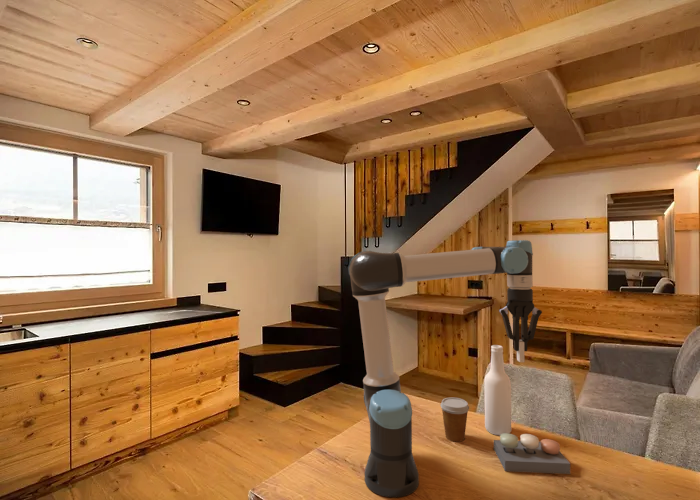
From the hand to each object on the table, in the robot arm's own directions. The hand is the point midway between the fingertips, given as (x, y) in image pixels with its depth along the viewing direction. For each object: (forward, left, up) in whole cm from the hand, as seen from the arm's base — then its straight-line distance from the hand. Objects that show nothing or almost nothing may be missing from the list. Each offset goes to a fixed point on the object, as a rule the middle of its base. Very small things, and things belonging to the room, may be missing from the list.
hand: (520, 360), depth 121 cm
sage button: (-6, -7, -26) cm, 28 cm away
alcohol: (-4, +12, -29) cm, 31 cm away
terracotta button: (+6, -7, -28) cm, 29 cm away
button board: (0, -7, -28) cm, 29 cm away
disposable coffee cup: (-20, +6, -29) cm, 35 cm away
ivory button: (0, -7, -26) cm, 27 cm away
